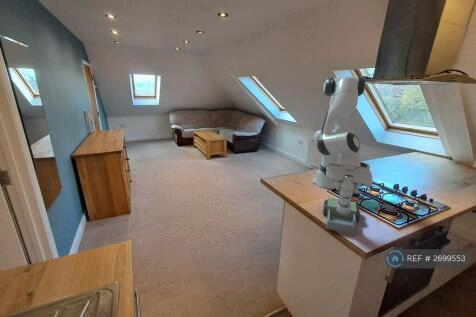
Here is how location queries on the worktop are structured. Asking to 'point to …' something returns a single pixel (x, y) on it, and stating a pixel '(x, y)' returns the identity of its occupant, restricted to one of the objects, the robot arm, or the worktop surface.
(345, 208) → the silver metal bottle
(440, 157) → the worktop surface
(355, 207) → the toy pickup truck
